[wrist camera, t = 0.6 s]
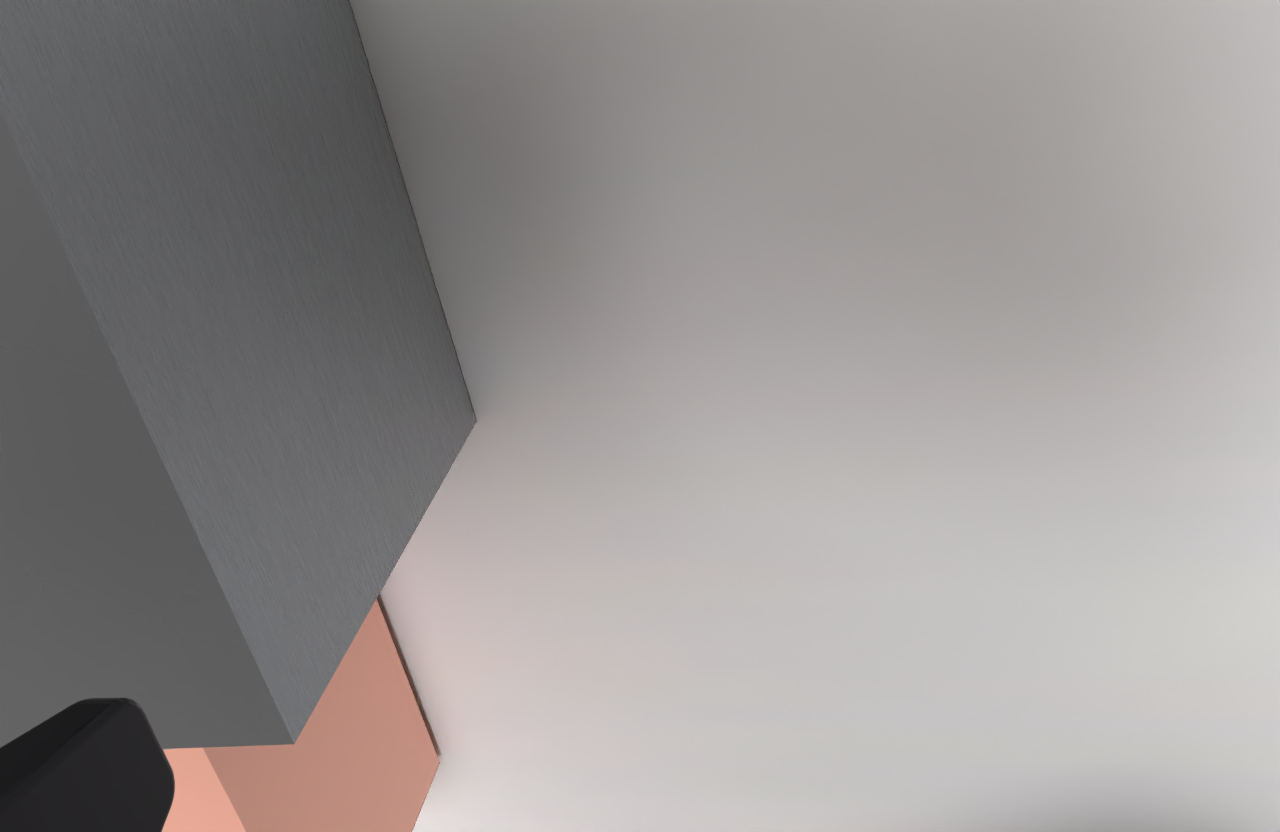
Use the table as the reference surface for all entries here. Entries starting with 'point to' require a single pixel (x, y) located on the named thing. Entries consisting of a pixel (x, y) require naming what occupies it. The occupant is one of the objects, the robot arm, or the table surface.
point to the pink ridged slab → (321, 759)
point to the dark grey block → (204, 361)
